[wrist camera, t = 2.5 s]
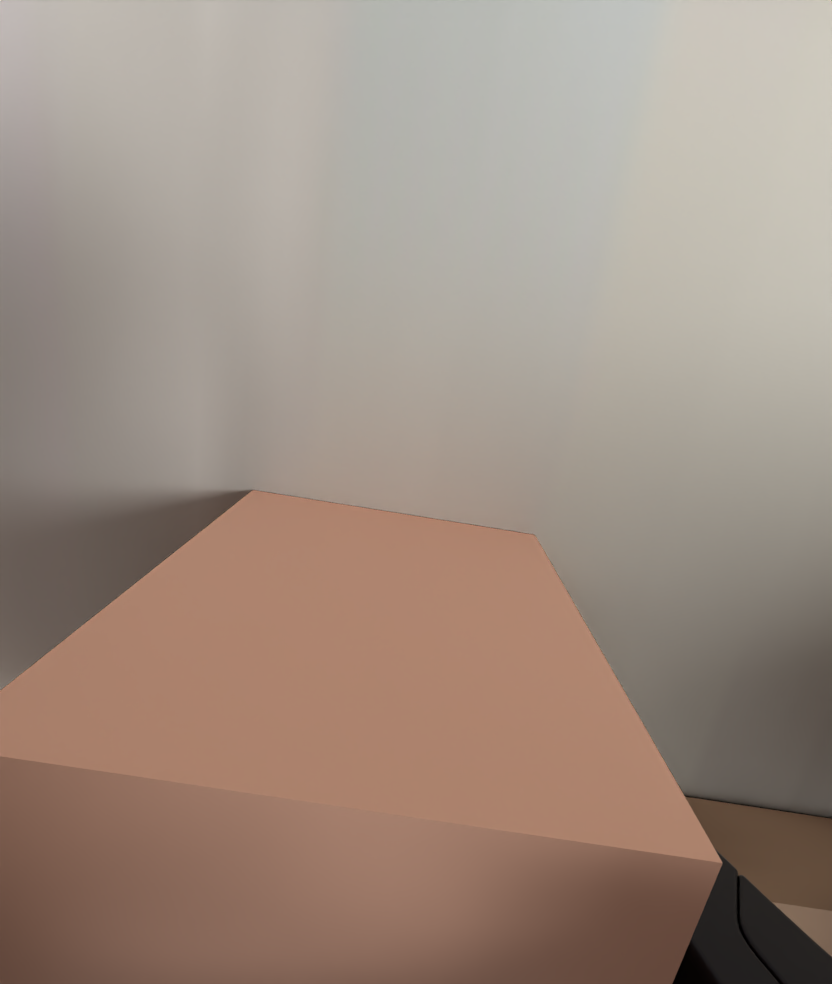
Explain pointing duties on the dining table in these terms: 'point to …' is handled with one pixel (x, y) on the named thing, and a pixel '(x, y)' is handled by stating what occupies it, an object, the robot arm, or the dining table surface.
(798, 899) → the walnut plinth
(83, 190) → the dining table surface
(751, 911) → the robot arm
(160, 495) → the dining table surface
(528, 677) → the terracotta block
